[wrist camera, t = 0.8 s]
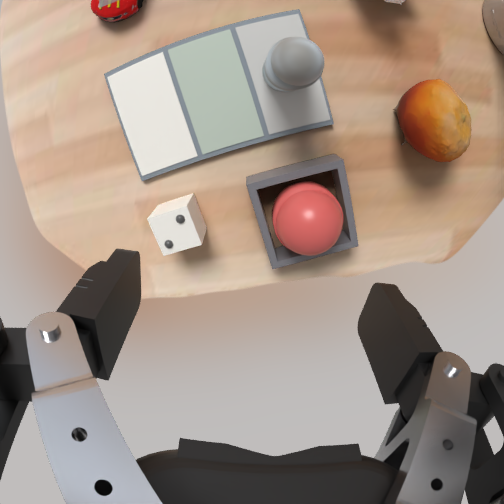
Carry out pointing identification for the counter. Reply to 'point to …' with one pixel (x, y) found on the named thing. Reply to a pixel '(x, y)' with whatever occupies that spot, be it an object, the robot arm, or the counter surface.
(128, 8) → the race car
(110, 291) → the robot arm
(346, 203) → the gray square tray
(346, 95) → the counter surface
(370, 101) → the counter surface
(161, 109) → the game board
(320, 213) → the dome
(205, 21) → the counter surface
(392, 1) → the geometric puzzle
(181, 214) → the die
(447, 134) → the fruit
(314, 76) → the ridged rounded cylinder
